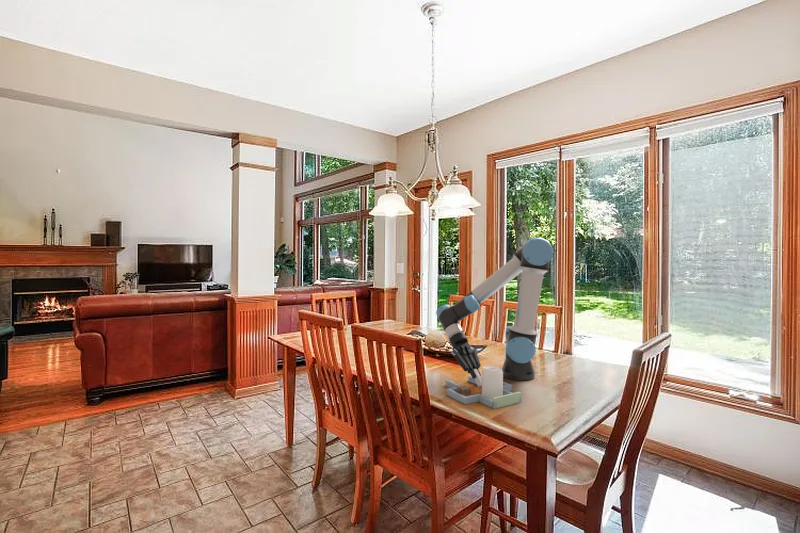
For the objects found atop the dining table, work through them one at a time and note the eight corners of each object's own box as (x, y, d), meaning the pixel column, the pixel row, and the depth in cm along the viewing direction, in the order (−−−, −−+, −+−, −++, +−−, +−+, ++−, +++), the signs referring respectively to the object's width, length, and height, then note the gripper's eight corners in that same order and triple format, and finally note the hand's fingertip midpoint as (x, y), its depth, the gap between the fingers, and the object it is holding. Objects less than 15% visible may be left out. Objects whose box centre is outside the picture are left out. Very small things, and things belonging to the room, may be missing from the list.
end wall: (492, 408, 145) (492, 397, 145) (519, 401, 152) (519, 391, 152) (494, 409, 144) (494, 398, 144) (521, 402, 151) (521, 392, 151)
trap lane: (433, 388, 167) (433, 382, 167) (481, 378, 181) (481, 373, 180) (480, 412, 141) (480, 405, 141) (533, 399, 154) (533, 393, 154)
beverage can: (477, 396, 158) (477, 366, 158) (493, 393, 161) (494, 364, 161) (490, 403, 151) (490, 371, 150) (507, 399, 154) (507, 369, 154)
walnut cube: (456, 396, 156) (456, 386, 156) (464, 395, 158) (464, 385, 158) (462, 399, 153) (462, 389, 153) (470, 398, 155) (470, 388, 155)
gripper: (464, 339, 179) (488, 386, 165) (440, 342, 173) (464, 391, 159) (471, 330, 175) (497, 377, 160) (448, 332, 168) (472, 382, 154)
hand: (480, 384), depth 160 cm, fingers closed
